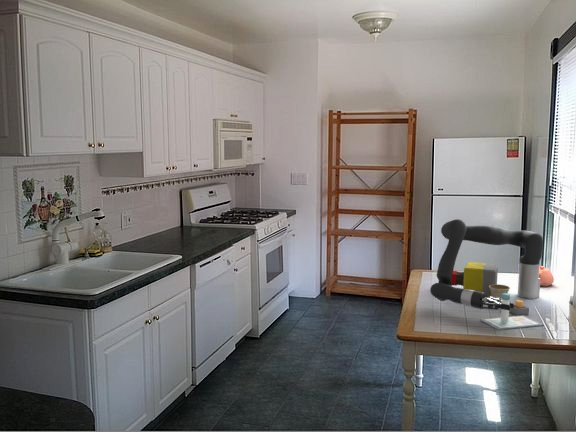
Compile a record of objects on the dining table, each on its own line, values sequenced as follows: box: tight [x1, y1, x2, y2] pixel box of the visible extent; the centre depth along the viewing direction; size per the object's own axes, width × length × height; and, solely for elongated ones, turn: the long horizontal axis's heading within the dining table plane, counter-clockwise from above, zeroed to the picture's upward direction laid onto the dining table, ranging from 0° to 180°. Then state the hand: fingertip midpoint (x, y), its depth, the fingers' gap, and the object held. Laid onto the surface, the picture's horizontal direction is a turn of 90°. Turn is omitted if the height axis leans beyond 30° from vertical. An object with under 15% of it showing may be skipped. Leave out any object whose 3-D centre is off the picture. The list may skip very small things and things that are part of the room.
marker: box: [500, 292, 511, 322], centre depth 235 cm, size 3×3×12 cm
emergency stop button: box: [451, 261, 499, 297], centre depth 282 cm, size 15×24×15 cm, turn 65°
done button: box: [514, 299, 525, 308], centre depth 251 cm, size 4×4×4 cm
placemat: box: [480, 315, 544, 331], centre depth 238 cm, size 22×13×1 cm, turn 103°
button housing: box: [509, 304, 530, 316], centre depth 251 cm, size 6×6×3 cm
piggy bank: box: [539, 265, 555, 288], centre depth 298 cm, size 12×14×10 cm
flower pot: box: [489, 283, 511, 298], centre depth 264 cm, size 9×9×9 cm
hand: (511, 306), depth 233 cm, fingers closed on marker, 3 cm apart
